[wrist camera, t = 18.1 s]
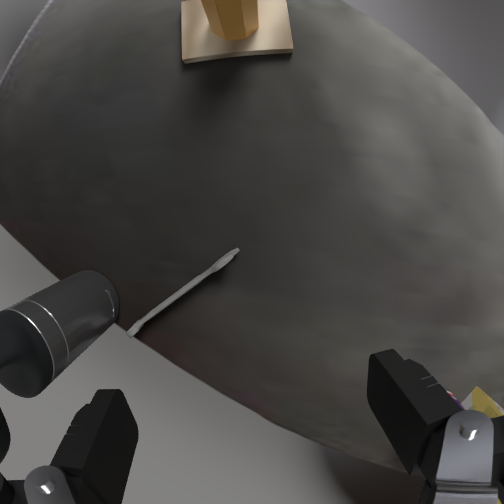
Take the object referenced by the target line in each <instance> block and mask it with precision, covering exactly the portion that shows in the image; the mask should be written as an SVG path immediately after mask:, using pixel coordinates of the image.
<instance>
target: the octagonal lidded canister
mask: <svg viewBox="0 0 504 504" xmlns="http://www.w3.org/2000/svg"><path fill="white" fill-rule="evenodd" d="M201 2H202V5H203V8H204V11H205V13H206V16H207V19H208V22H209V24H210V27H211V30H212V32H213V33H215V34H217V35H218V36H220V37H221V38H223V39H224V40H226V41H229V40H241V39H246V38H248V37H249V36H250V35H251V34H252V33H253V32H254V31H255V30H257V29H258V28H259V21H258V2H257V0H201Z"/></svg>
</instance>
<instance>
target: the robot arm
mask: <svg viewBox="0 0 504 504" xmlns="http://www.w3.org/2000/svg"><path fill="white" fill-rule="evenodd" d="M119 307H120V306H119V299H118V295H117V292H116V290H115V288H114V287H113V285H112V284H111V282H110V281H109V280H108V279H107V278H106V277H105V276H103V275H102V274H100V273H98V272H96V271H93V270H83V271H80V272H78V273H76V274H74V275H72V276H70V277H67V278H65V279H63V280H61V281H59V282H57V283H55V284H53V285H51V286H49V287H47V288H45V289H43V290H41V291H39V292H37V293H35V294H33V295H31V296H29V297H27V298H25V299H23V300H22V301H20V302H18V303H16V304H14V305H12V306H10V307H8V308H6V309H5V310H3V311H0V383H1V384H2V385H3V386H4V387H5V388H7V390H9V391H10V392H12V393H14V394H15V395H18V396H21V397H24V398H31V397H35V396H37V395H38V394H40V393H41V392H42V391H43V390H44V389H45V388H46V387H47V386H48V385H49V384H50V383H51V382H52V381H53V380H54V379H55V378H56V377H57V376H59V375H60V374H61V373H62V372H63V371H64V369H66V368H67V367H68V366H69V365H70V364H71V363H72V362H73V361H74V360H75V359H76V358H77V357H78V356H79V355H80V354H81V353H82V352H83V351H84V350H85V349H87V348H88V347H89V346H90V345H91V344H92V343H93V342H94V341H95V340H96V339H97V338H98V337H99V336H100V335H102V334H103V333H104V332H105V331H106V330H107V329H108V328H109V327H110V326H111V325H112V324H113V323H114V322H115V321H116V319H117V317H118V314H119ZM367 399H368V403H369V406H370V408H371V410H372V411H373V413H374V415H375V417H376V418H377V420H378V422H379V423H380V425H381V427H382V429H383V430H384V432H385V434H386V435H387V437H388V439H389V441H390V442H391V444H392V446H393V448H394V449H395V451H396V453H397V455H398V456H399V458H400V460H401V462H402V463H403V465H404V467H405V469H406V470H407V472H408V474H409V476H413V475H416V474H418V473H420V472H423V474H424V476H425V477H426V478H425V480H424V483H423V487H422V490H421V493H420V497H419V500H418V503H417V504H497V501H498V499H499V500H500V502H501V503H502V504H504V415H503V416H499V417H495V418H489V417H488V416H487V415H486V414H484V413H482V412H480V411H476V410H463V409H462V408H461V407H460V405H459V404H458V403H457V402H456V401H455V400H454V399H453V398H452V397H451V396H450V394H449V393H448V392H447V391H446V390H445V389H444V388H443V387H442V386H441V385H440V384H438V381H437V380H436V379H435V378H434V377H433V376H432V377H431V374H430V373H429V372H428V371H427V370H426V369H425V368H424V366H423V365H421V364H419V363H417V362H415V361H413V360H411V359H408V360H405V361H404V360H403V359H402V357H401V356H400V355H399V354H398V353H397V352H396V351H395V350H394V349H389V350H386V351H382V352H378V353H374V354H371V355H370V357H369V368H368V382H367ZM66 433H67V434H66V435H65V436H64V438H63V440H62V441H61V444H60V445H59V447H58V449H57V451H56V454H55V455H54V458H53V459H52V462H51V464H50V465H49V466H41V467H38V468H36V469H34V470H32V471H31V472H30V473H29V474H28V476H27V477H26V479H25V480H10V481H9V480H8V481H7V480H6V479H5V478H4V476H3V475H2V474H1V473H0V504H121V503H122V500H123V495H124V491H125V487H126V483H127V479H128V476H129V472H130V468H131V464H132V460H133V456H134V453H135V449H136V445H137V442H138V426H137V423H136V421H135V419H134V416H133V414H132V412H131V410H130V408H129V405H128V403H127V401H126V398H125V396H124V394H123V392H122V391H121V390H120V389H102V390H101V389H100V390H97V392H96V393H95V396H94V397H93V399H92V401H91V403H90V404H86V405H85V406H84V407H82V408H81V409H80V410H79V411H78V412H77V413H76V415H75V417H74V419H73V420H72V422H71V426H69V428H68V430H67V432H66ZM10 440H11V439H10V432H9V428H8V425H7V423H6V419H5V417H4V415H3V413H2V410H1V408H0V463H1V462H2V461H3V459H4V458H5V456H6V454H7V452H8V450H9V446H10Z"/></svg>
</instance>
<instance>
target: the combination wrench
mask: <svg viewBox="0 0 504 504" xmlns="http://www.w3.org/2000/svg"><path fill="white" fill-rule="evenodd" d="M238 252H239V249H238V248H237V249H234V250H232V251H230V252H228V253H227V254H226V255H224V256H223V257H222V258H220V259H219V260H218V261H217V262H216V263H215V264H214V265H213V266H212V267H210V268H209V269H208V270H206V271H205V272H204V273H202V274H201V275H200V276H197V277H196V278H194V279H193V280H192V281H190V282H189V283H188V284H186V285H185V286H184V287H182V288H181V289H180V290H178V291H177V292H176V293H174V294H173V295H172V296H170V297H169V298H168V299H166V300H165V301H164V302H162V303H161V304H160V305H158V306H157V307H156V308H154V309H153V310H152V311H150V312H149V313H148V314H147V315H146V316H145V317H143V318H142V319H141V320H138V321H137V322H136V323H135V324H134V325H133V326H132V327H131V328H130V329H129V330H128V331H127V332H126V334H127V335H128V336H129V337H130V338H132V337H133V336H134V335H135V334H136V333H137V332H138V331H139V330H140V329H141V327H142V326H143V325H144V323H145V322H146V321H147V320H148V319H151V318H152V317H153V316H155V315H156V314H158V313H159V312H160V311H162V310H163V309H164V308H166V307H167V306H168V305H170V304H171V303H172V302H174V301H175V300H177V299H178V298H179V297H181V296H182V295H183V294H185V293H186V292H187V291H189V290H190V289H192V288H193V287H194V286H196V285H197V284H198V283H200V282H201V281H202V280H203V279H204V278H205V277H207V276H208V275H210V274H211V273H212V272H216V271H218V270H219V269H221V268H222V267H223V266H225V265H226V264H227V263H228V262H229V261H230V260H231V259H232V258H233V256H234V255H235V254H236V253H238Z"/></svg>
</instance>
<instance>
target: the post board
mask: <svg viewBox="0 0 504 504" xmlns="http://www.w3.org/2000/svg"><path fill="white" fill-rule="evenodd" d="M257 2H258V21H259V28H258V29H257V30H255V31H254V32H253V33H252V34H251V35H250V36H249V37H248V38H246V39H241V40H229V41H226V40H224V39H223V38H221V37H220V36H218V35H217V34H215V33H213V32H212V30H211V27H210V24H209V22H208V19H207V16H206V13H205V11H204V8H203V5H202V2H201V0H190V1H184V2H182V60H183V62H184V63H185V64H187V63H193V62H199V61H206V60H213V59H221V58H229V57H239V56H250V55H263V54H282V53H293V42H292V36H291V29H290V22H289V16H288V10H287V4H286V0H257Z"/></svg>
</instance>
